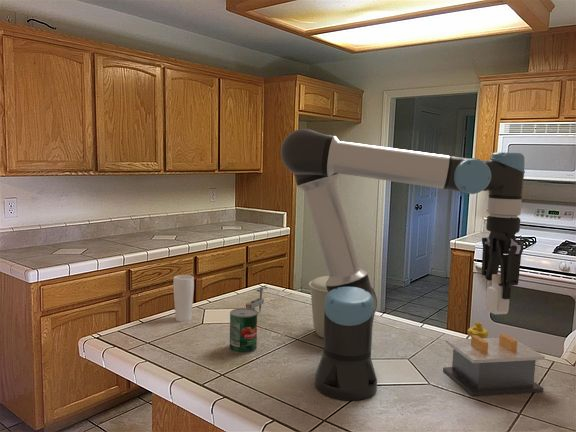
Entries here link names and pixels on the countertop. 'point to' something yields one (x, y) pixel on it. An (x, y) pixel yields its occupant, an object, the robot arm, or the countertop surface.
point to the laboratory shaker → (493, 366)
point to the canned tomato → (243, 330)
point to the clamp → (257, 300)
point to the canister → (318, 302)
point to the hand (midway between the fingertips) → (496, 308)
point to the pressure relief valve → (478, 331)
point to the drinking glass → (183, 297)
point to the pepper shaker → (493, 295)
